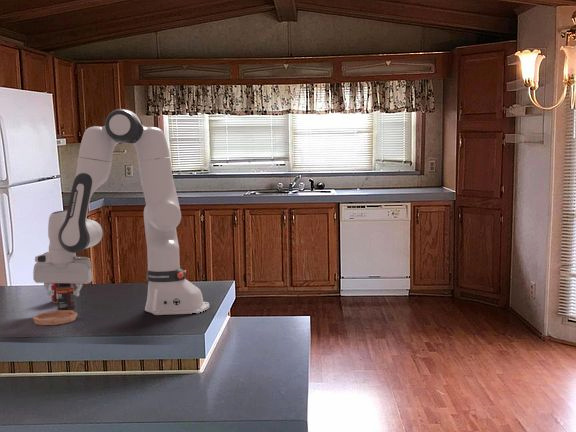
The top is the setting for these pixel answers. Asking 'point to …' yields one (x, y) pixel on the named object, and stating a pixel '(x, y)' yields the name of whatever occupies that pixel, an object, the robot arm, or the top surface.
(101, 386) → the top surface
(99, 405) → the top surface
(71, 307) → the supplement bottle
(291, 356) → the top surface
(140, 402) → the top surface
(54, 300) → the soda can
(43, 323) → the dish
